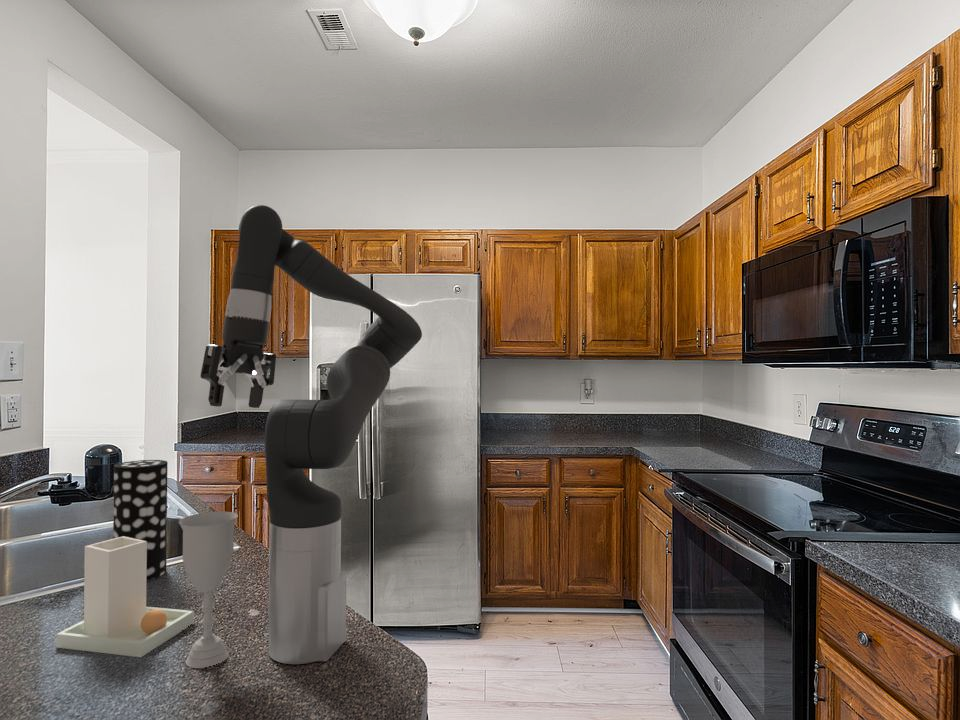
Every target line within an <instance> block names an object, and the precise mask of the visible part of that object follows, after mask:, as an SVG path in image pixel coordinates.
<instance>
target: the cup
mask: <svg viewBox="0 0 960 720" xmlns="http://www.w3.org/2000/svg"><path fill="white" fill-rule="evenodd" d="M83 571H84V573H83V574H84V577H83V578H84V579H83V580H84V581H83V582H84V585H83V586H84V587H83V620H84V633H85V634H88V635H92V636H101V637H110V638H117V637H119V636H122V635H124V634H127V633H129V632H131V631H134V630H136V629H139V628H141V620H142V618H143V616H144V615H145V614H146V606H147V581H146V576H147V541H143V540H139V539H134V538H129V537H125V536H122V537H118V538H114V539H113V538H110V539H108V540H103V541H100V542H95V543H92V544H88V545H84V570H83Z"/></svg>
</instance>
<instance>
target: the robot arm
mask: <svg viewBox="0 0 960 720" xmlns="http://www.w3.org/2000/svg"><path fill="white" fill-rule="evenodd" d="M238 235H239V239H238V246H237V247H238V249H237V257H236V260H235V263H234V267H233V271H232V275H231V276H232V277H231V282H230V283H231V284H230V290H229V294H228V298H227V301H226V308H225V315H224V319H223V320H224V321H223V322H224V323H223V329H222V335H221V339H222V340H223V345H222V346H221V345H218V344H207V345H206V346H205V351H204V355H203V360H202V365H201V370H200V378H201V379H203V380H206V381H207V382H209V392H208V397H207V398H208V402H209V406H211V407H218V408H219V407H221V406H222V405H223V397H224V392H225V385H224V383H225V382H226V381H227V380H228V378H229V377H231V376H233V375H234V373H236V374H244V375H245V376H246V377H247V378H248V379H249V381H250V384H251V387H250V390H249V391H250V392H249V398H248V407H249V408H254V409H259V408H260V406H261V405H262V404H263V396H264V389H265V388H266V387H267V386H272V385H274V383H275V372H276V363H277V360H276V359H277V355H276V354H275V353H270V352H264V350H263V348H264V346H266V345H267V342H268V335H269V329H270V328H269V327H270V320H271V316H272V315H271V313H272V296H273V287H274V281H275V266H276V267H278V268H279V269H281V270H282V271H283V272H284V273H286V275H288V276H289V277H290V278H291V279H292V280H294V281H295V282H296V283H297V284H299V285H300V286H301V287H303V288H304V289H305V290H307V291H308V292H309V293H312V294H313V295H314V296H317V297H319V298H320V297H321V298H323V299H326V300H331V301H336V302H337V301H338V302H342V303H348V304H352V305H356V306H360V307H361V308H365V309H367V310H369V311H370V312H371V313H373V314H375V315H376V316H378V317H377V318H376V319H375V320H374V321H373V322H372V323H371V324H370V325H369V326H368V327H367V328H366V329H365V331H364V332H363V333H362V335H361V337H360V338H359V340H358V342H357V345H356V346H353V347H350V348H349V349H348V350H347V351H345V352H344V353H343V354H342V355H341V356H340V357H338V359H337V360H335V362H334V363H333V365H332V366H331V368H330V369H329V371H328V373H327V376H326V387H327V393H328V395H329V397H330V399H282V400H281V399H280V400H278V401H276V402H275V403H274V404H273V405H272V407H271V408H270V410H269V411H268V415H267V417H266V421H265V428H264V458H265V478H266V479H265V480H266V500H267V506H268V510H269V542H268V543H269V545H268V546H269V548H268V549H269V550H268V551H269V553H268V635H267V639H268V655H269V658H270V659H272V660H274V661H276V662H278V663H282V664H285V665H287V664H288V665H304V664H310V663H314V662H327V661H329V660H330V658H331V657H333V655H334V654H335V653H336V652H337V651H339V649H340V647H342V645H343V644H344V643H345V642H346V641H347V571H345V570H342V569H341V568H342V567H341V566H342V565H341V564H342V563H341V562H342V560H341V559H342V556H341V555H342V553H341V551H342V501H341V498H340V496H339V495H338V494H337V493H335V492H332V491H330V490H328V489H326V488H324V487H321V486H319V485H318V484H316V483H315V482H313V481H312V480H311V479H310V478H308V477H307V475H306V473H305V471H304V469H305V470H329V469H335V468H338V467H340V466H342V465H343V464H344V463H345V462H346V461H347V459H348V458H349V456H350V455H351V453H352V451H353V449H354V447H355V444H356V442H357V440H358V437H359V435H360V432H361V430H362V427H363V425H364V423H365V421H366V419H367V416H369V413H370V411H372V408H373V407H374V405H375V404H376V402H377V401H378V400H379V398H380V397H381V396H382V395H383V392H384V391H385V389H386V387H387V385H388V383H389V381H390V377H391V369H392V368H393V367H394V366H395V365H396V364H398V363H399V362H400V361H402V359H403V358H405V356H406V355H407V354H408V353H409V352H410V351H411V350H412V349H413V348H415V346H416V345H417V344H418V343H419V342H420V340H422V336H423V333H422V328H421V326H420V325H419V323H418V322H417V321H416V320H415V318H413V317H412V316H411V314H409V313H408V312H407V311H406V310H405V309H403V308H402V307H400V306H399V305H397V304H396V303H394V302H393V301H391V300H389V299H387V298H386V297H384V296H383V295H382V294H380V293H378V292H376V291H375V290H374V289H372V288H370V287H369V286H367V285H366V284H364V283H362V282H360V281H359V280H357V279H356V278H354V277H353V276H351V275H349V274H348V273H346V272H345V271H344V270H342V269H340V268H339V267H338V266H337V265H335V264H334V263H333V262H332V261H330V260H329V259H328V258H327V257H326V256H324V255H323V253H321V252H319V251H318V250H317V249H316V247H315V248H314V247H313V246H312V245H311V244H309V243H308V242H306V241H305V240H301V239H297V238H295V237H294V236H292V235H291V234H290V233H289V232H287V231H286V230H285V229H283V222H282V218H281V217H280V215H279V213H278V212H277V211H276V210H275V209H273V208H272V207H270V206H268V205H263V204H257V205H253V206H251V207H249V208H248V209H246V210H245V211H244V212H243V214H242V216H241V218H240V222H239V225H238ZM221 357H222V360H221ZM220 360H221V361H220Z"/></svg>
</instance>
